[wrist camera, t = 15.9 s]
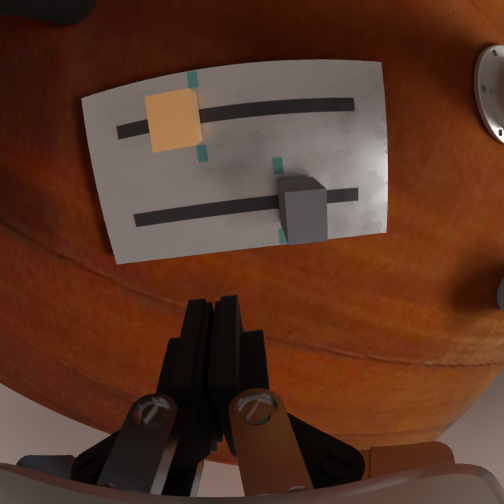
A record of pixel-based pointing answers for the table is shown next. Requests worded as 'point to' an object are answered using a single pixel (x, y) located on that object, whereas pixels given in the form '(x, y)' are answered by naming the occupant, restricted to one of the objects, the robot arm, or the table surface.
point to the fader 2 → (303, 210)
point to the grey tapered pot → (501, 295)
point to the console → (241, 156)
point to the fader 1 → (173, 120)
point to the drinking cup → (49, 9)
